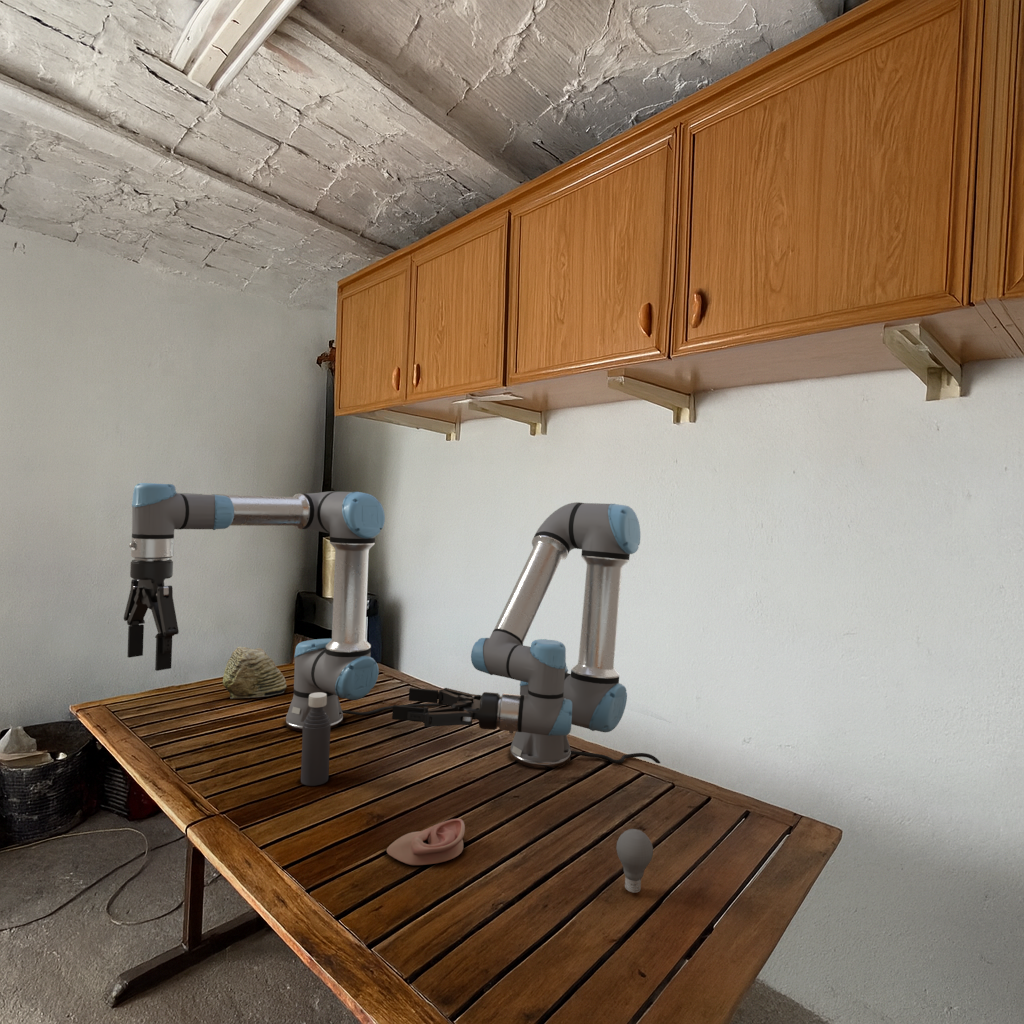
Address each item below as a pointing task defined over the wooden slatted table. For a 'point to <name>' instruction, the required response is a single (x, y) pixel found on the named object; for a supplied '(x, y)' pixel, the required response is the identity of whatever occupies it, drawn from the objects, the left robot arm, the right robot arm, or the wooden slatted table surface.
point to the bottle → (315, 748)
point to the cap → (317, 699)
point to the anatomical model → (430, 844)
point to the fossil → (252, 674)
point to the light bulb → (634, 857)
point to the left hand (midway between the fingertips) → (148, 662)
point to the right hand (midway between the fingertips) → (401, 702)
